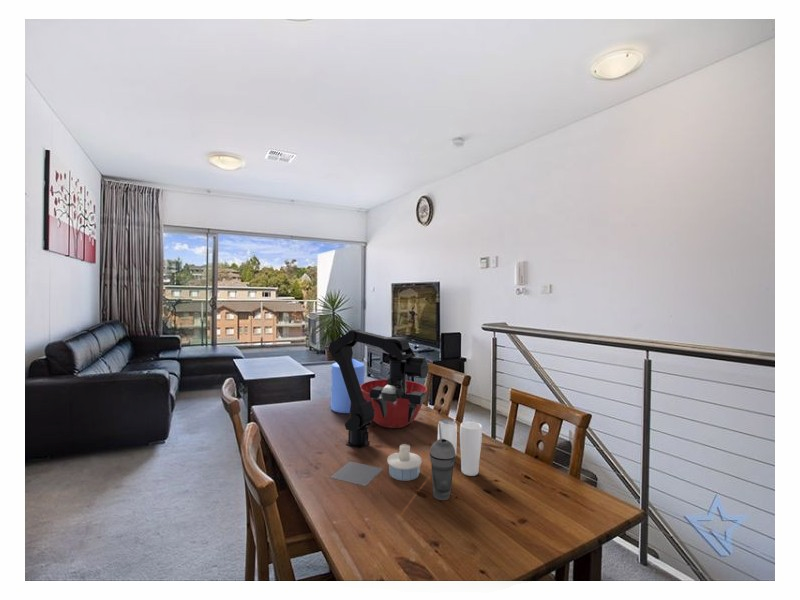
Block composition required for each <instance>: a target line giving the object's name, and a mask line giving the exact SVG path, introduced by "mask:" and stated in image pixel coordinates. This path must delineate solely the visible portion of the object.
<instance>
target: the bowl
mask: <svg viewBox="0 0 800 600" xmlns="http://www.w3.org/2000/svg"><path fill="white" fill-rule="evenodd" d="M420 469H421V465H420V466H419V467H417V468H414V469H408V470H403V469H397V468H394V467H391V466H390V465H389V464H388V470H389V471H388V472H389V476H390V477H391V478H393V479H395V480H397V481H401V482H402V481H412V480H415V479H417V478H418V477H419V476H420V475H419V474H420V472H421V471H420Z"/></svg>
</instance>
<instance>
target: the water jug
mask: <svg viewBox="0 0 800 600" xmlns="http://www.w3.org/2000/svg"><path fill="white" fill-rule="evenodd" d="M352 363H353V366H354V369H355V372H356V375H357V379H358V382H359V385H360V386H361V385H362V384H363V383H365V376H366V375H365V374H366V368H365V364H364V363H363V362H361V361H359V360H357V359H354V358H353V357H352ZM330 375H331V386H330V394H331V395H330V399H331V400H330V409H331V410H332V411H333V412H336V413H339V414H350V407H351V401H350V398H349V395H348V392H347V389H346V386H345V383H344V379H343V376H342V373H341V370H340V367H339V365H338V364H337V363H336V362H334V363H332V364H331V374H330Z"/></svg>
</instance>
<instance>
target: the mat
mask: <svg viewBox="0 0 800 600" xmlns="http://www.w3.org/2000/svg"><path fill="white" fill-rule="evenodd" d="M383 470H384V468H382V467H378V466H374V465H373V466H372V465H369V464H365V463H359V462H355V461H351V460H350V461H349V462H347V463H346V464H345V465H344V466H342V467H341V468H339V470H337V471H336V472H335V473H333V474H332V475H331V476H330V477H329V478H330V479H335V480H339V481H343V482H346V483H351V484H355V485H359V486H363V487H366V486H368V485H369V484H370V482H371V481H373V480H374V479H375V478H376V477H377V476H378V475H379V474H380V473H381V472H382V471H383Z"/></svg>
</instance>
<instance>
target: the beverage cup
mask: <svg viewBox="0 0 800 600" xmlns="http://www.w3.org/2000/svg"><path fill="white" fill-rule="evenodd" d="M438 424H439V434H440V439H439V440H438V439H437V440H435V441H434V442H433V443H432V444H431V446H430V449H429V450H430V451H429V458H430V459H429V460H430V462H431V481H432V483H431V484H432V493H433V498H434V499H436V500H439V501H446V500H448V499H450V498H451V491H452V484H453V483H452V481H453V474H454V465H455V461H456V457H457V453H456V454H455V449H454V446H453V445H452V443H451V442H450V441H448V440H446V439H442V437H441V424H440V423H439V422H438Z"/></svg>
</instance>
